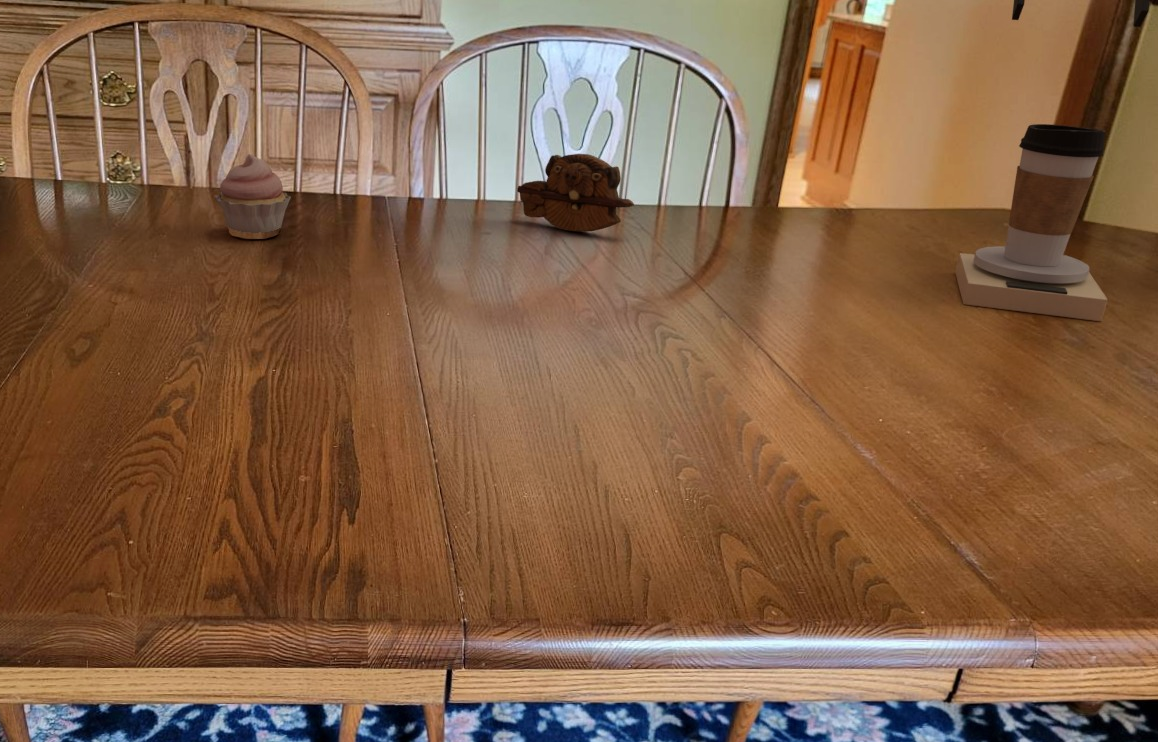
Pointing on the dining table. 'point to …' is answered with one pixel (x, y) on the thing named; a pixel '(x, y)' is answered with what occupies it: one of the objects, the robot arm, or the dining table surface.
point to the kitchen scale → (1029, 285)
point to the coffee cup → (1050, 191)
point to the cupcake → (253, 197)
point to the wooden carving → (575, 193)
